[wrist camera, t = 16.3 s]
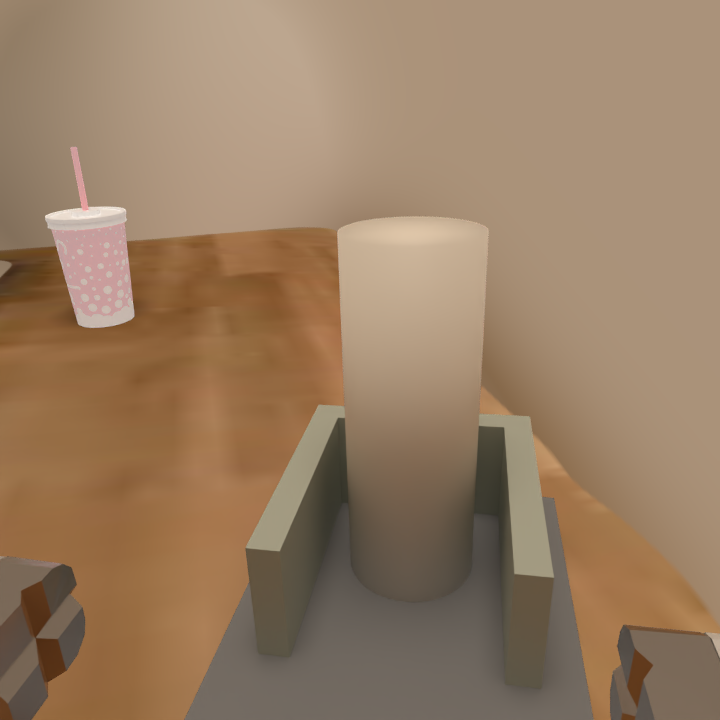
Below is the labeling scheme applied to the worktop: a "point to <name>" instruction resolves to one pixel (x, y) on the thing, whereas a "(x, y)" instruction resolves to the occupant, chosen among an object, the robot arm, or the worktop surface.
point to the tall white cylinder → (412, 398)
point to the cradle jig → (401, 606)
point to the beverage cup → (94, 259)
